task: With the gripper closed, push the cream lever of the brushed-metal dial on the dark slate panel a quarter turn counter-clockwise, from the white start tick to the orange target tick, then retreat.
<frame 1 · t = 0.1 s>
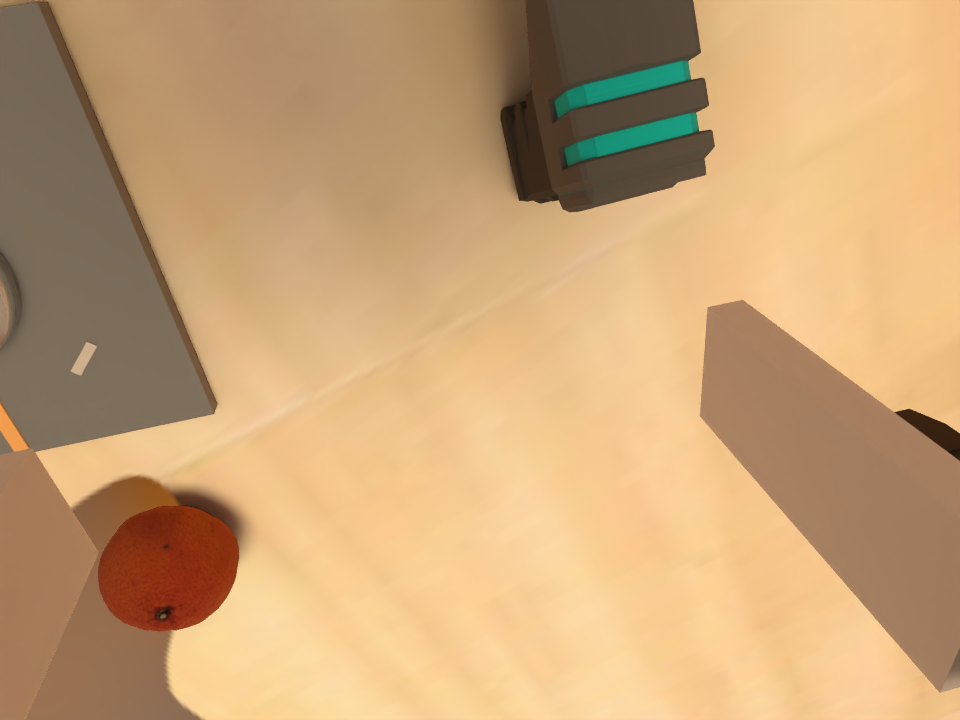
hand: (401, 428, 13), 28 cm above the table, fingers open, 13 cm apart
fruit: (182, 525, 47), on the table
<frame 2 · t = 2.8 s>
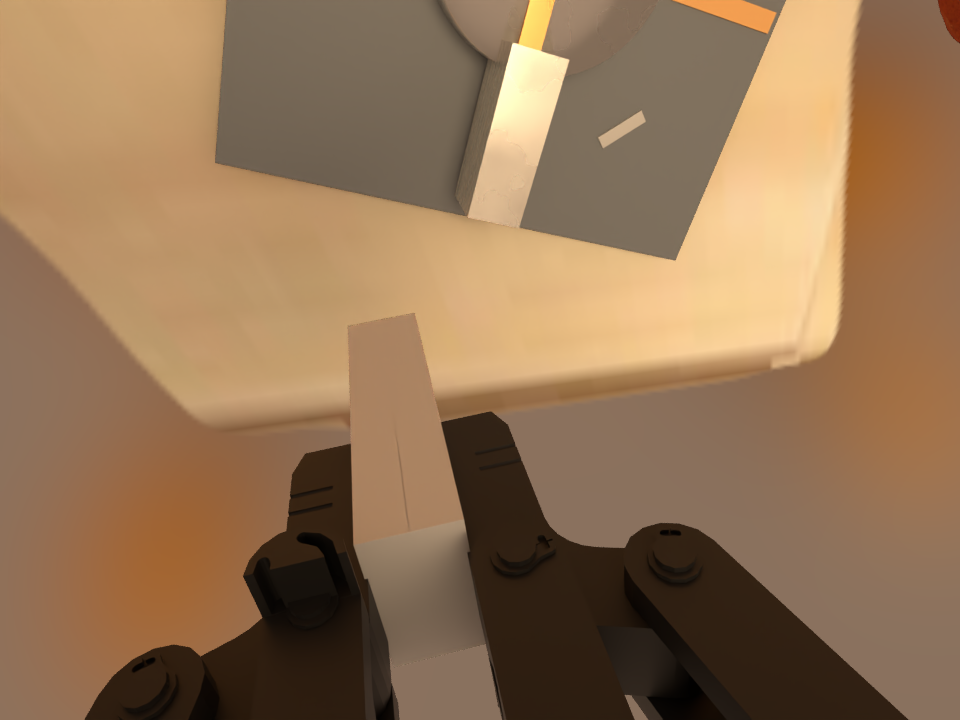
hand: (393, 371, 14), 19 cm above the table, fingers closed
dial: (535, 21, 26), point 3 cm above the table, hinge at -90.0°
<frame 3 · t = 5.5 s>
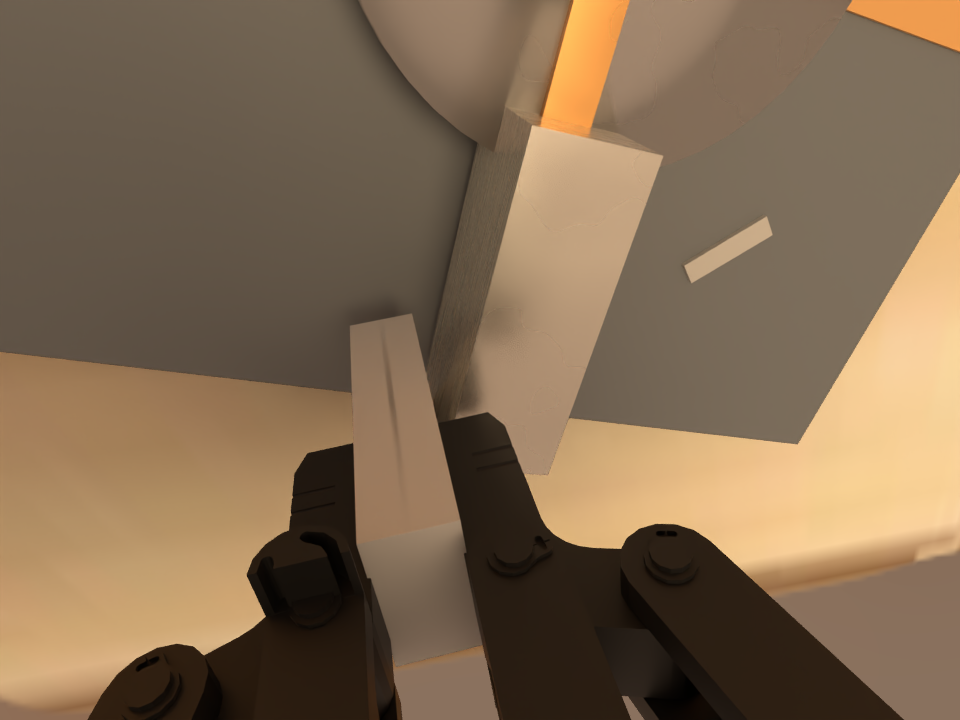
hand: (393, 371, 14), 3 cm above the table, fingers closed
dial: (579, 64, 12), point 3 cm above the table, hinge at -88.9°, touching gripper
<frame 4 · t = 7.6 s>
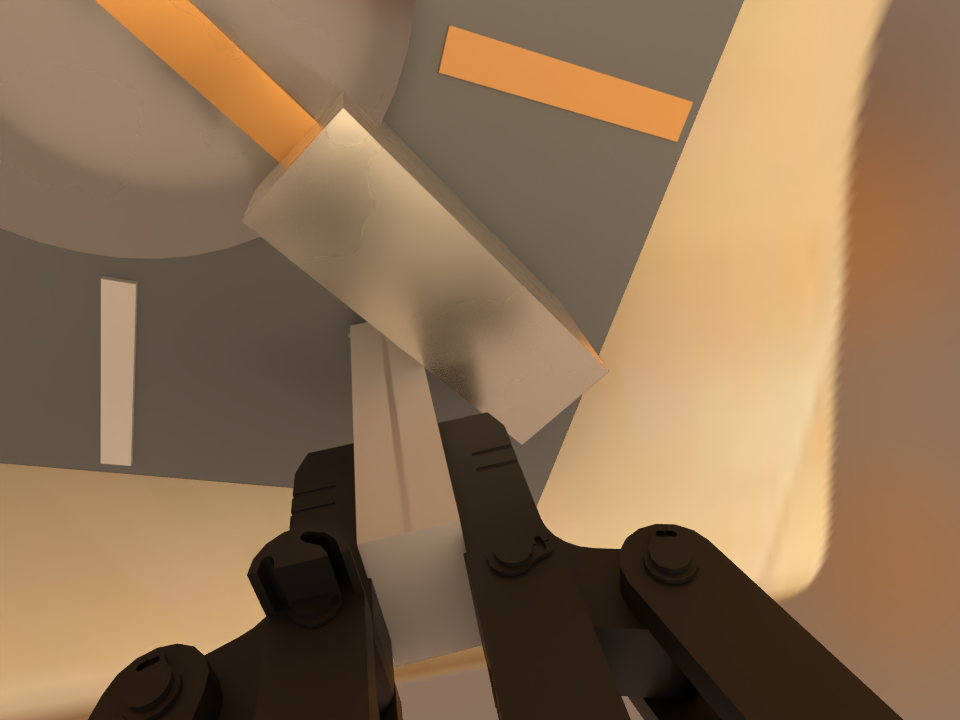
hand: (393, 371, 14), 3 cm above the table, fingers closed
dial: (252, 98, 11), point 3 cm above the table, hinge at -31.3°, touching gripper
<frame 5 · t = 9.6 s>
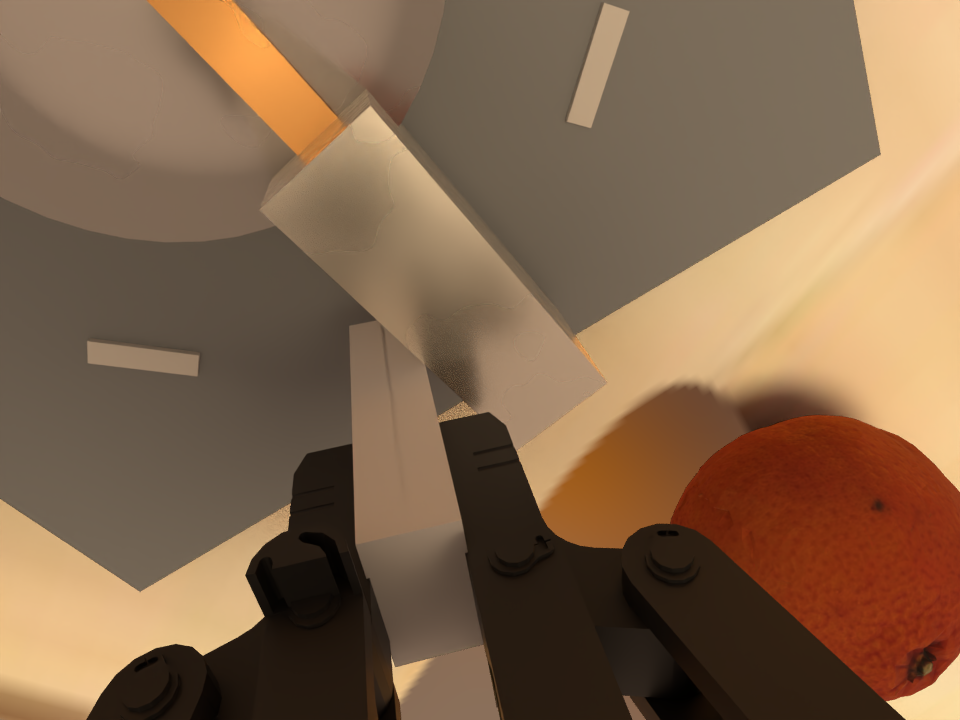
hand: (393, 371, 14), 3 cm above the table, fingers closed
fruit: (744, 470, 23), on the table
dial: (275, 88, 11), point 3 cm above the table, hinge at 8.9°, touching gripper
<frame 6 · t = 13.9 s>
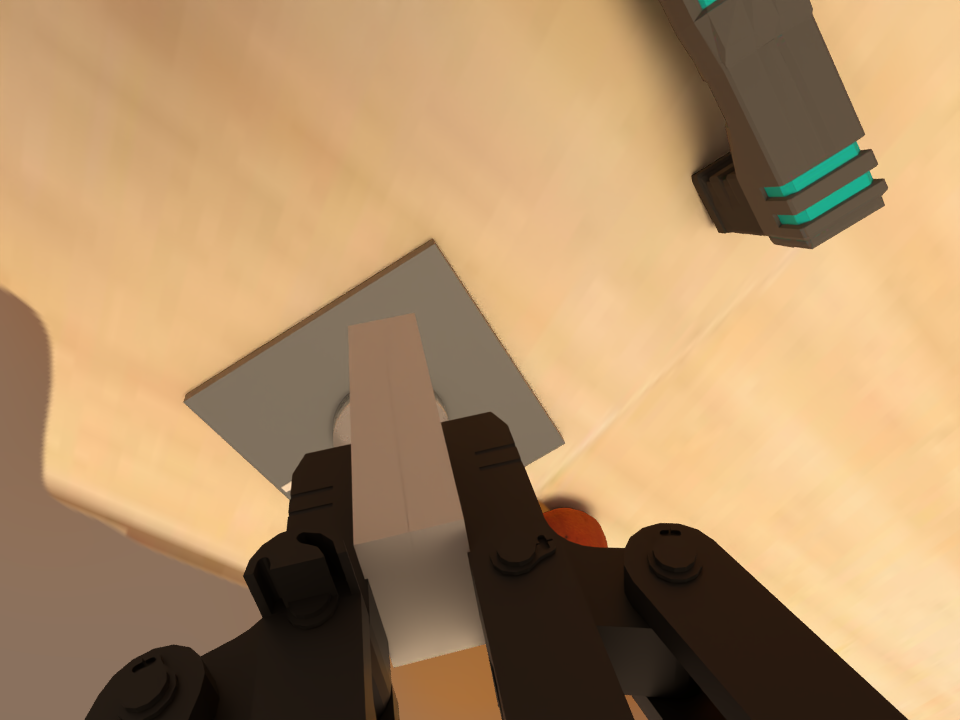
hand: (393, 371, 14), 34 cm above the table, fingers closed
fruit: (551, 522, 67), on the table
gun: (679, 30, 45), on the table
panel: (390, 416, 56), on the table
dial: (416, 457, 55), point 3 cm above the table, hinge at 8.9°
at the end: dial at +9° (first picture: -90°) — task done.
